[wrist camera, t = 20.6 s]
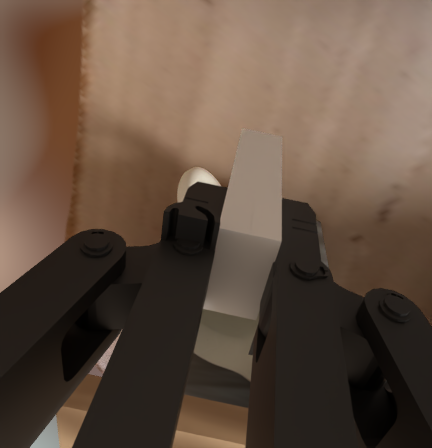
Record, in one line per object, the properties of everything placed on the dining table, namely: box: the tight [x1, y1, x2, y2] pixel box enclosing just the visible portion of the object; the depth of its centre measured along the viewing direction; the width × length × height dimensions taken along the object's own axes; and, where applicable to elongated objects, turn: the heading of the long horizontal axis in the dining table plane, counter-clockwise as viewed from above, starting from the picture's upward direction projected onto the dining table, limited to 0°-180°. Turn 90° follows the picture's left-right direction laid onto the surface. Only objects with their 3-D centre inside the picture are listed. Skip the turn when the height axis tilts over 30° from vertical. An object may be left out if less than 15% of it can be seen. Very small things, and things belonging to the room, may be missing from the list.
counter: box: [56, 221, 329, 448], centre depth 34 cm, size 16×16×23 cm
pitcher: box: [177, 167, 260, 382], centre depth 34 cm, size 11×18×14 cm, turn 28°
